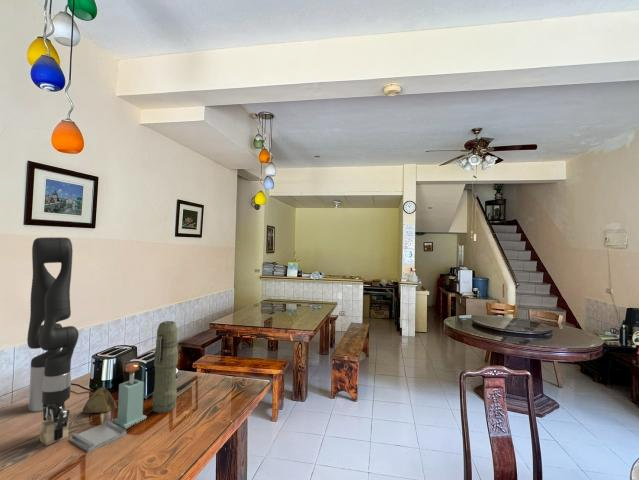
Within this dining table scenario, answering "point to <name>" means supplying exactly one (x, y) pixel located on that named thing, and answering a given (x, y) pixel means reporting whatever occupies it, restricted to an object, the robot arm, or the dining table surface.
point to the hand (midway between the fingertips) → (54, 436)
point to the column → (130, 404)
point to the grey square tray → (98, 436)
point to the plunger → (132, 371)
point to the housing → (51, 432)
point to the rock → (100, 402)
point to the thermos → (165, 368)
